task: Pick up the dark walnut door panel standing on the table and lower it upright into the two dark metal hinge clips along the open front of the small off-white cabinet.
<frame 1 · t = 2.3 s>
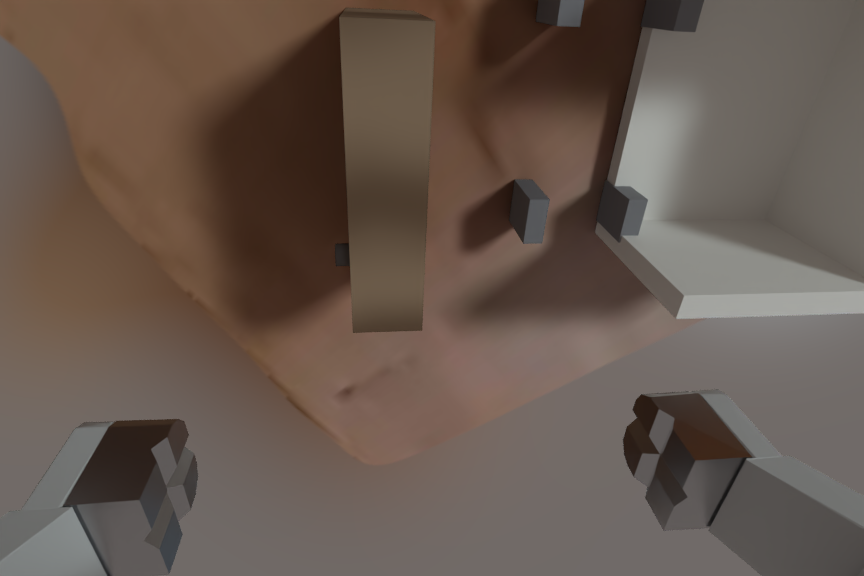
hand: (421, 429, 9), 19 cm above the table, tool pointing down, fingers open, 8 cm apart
cabinet: (721, 111, 27), on the table
door: (381, 143, 26), on the table
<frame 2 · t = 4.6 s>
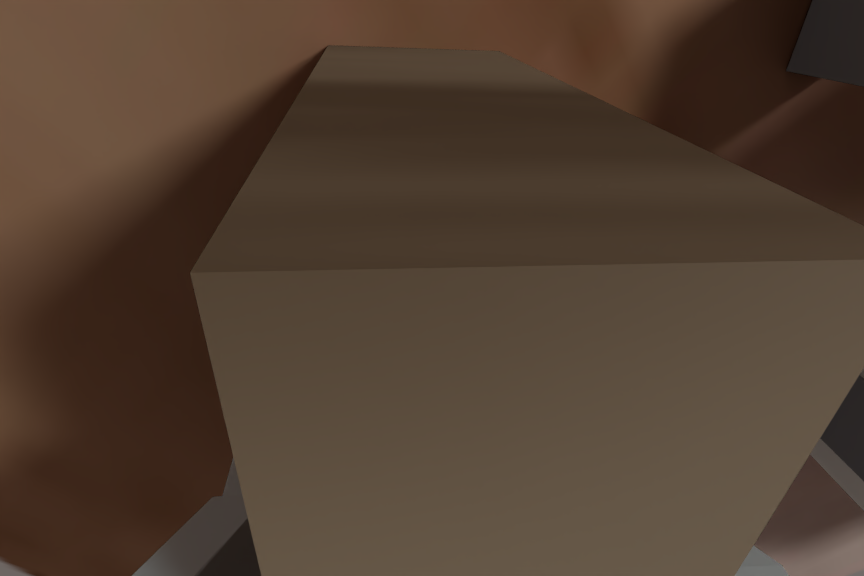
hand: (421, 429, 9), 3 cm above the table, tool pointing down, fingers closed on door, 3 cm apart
door: (409, 328, 12), on the table, touching gripper
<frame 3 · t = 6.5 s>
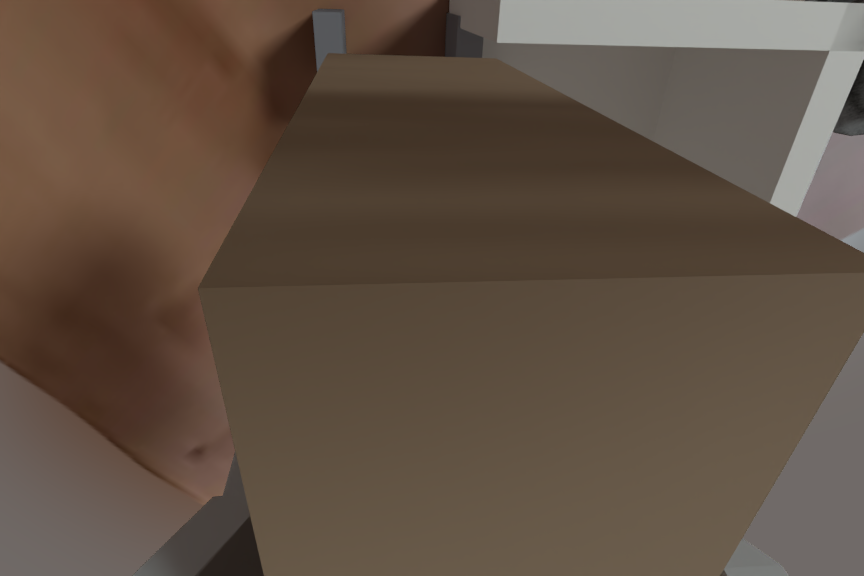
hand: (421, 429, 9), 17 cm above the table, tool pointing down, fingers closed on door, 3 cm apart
chess piece: (814, 52, 24), on the table
cabinet: (553, 160, 25), on the table
door: (408, 331, 12), point 14 cm above the table, touching gripper
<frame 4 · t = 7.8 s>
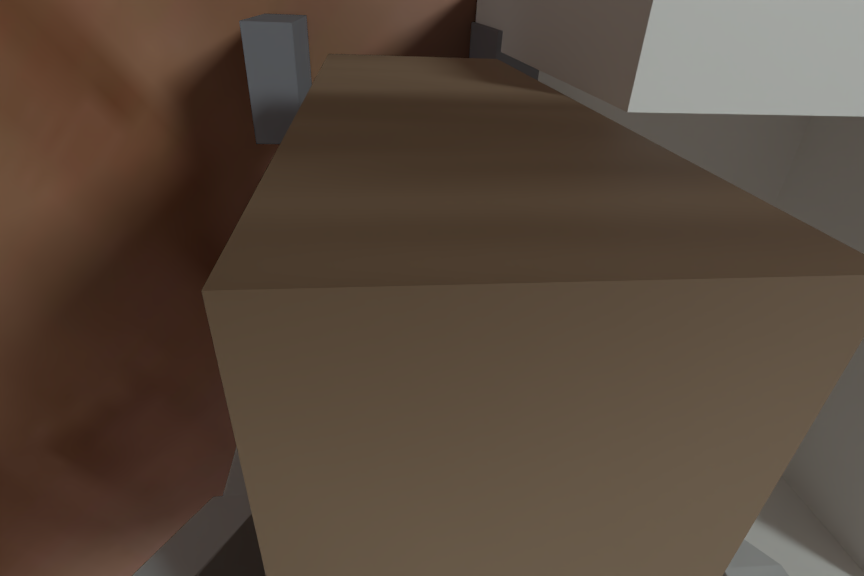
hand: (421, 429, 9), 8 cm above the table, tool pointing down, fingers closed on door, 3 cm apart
cabinet: (620, 236, 17), on the table
door: (408, 331, 12), point 5 cm above the table, touching gripper
when the fingers open (4 cm above the table, at t = 8.8 s): door moves 1 cm, on the table.
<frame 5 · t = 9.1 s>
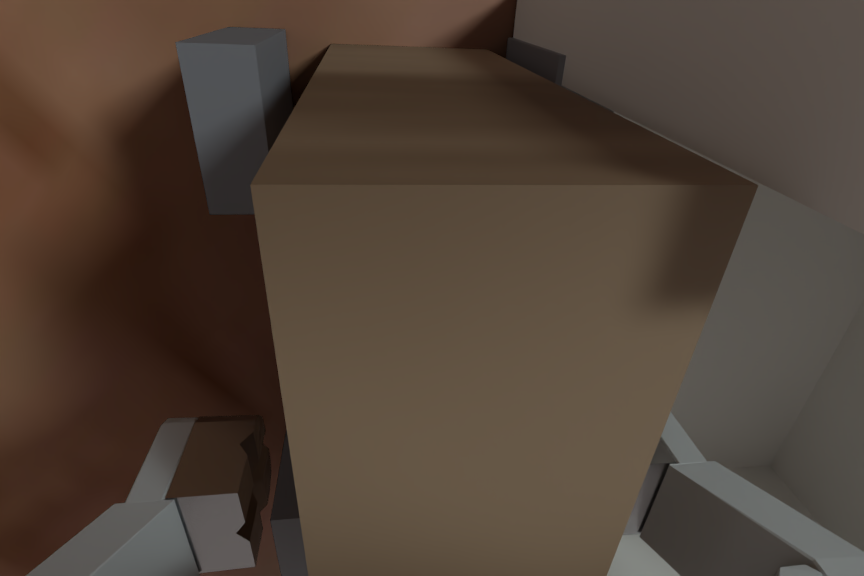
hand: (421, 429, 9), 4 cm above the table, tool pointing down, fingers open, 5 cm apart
cabinet: (682, 300, 14), on the table
door: (405, 306, 13), on the table
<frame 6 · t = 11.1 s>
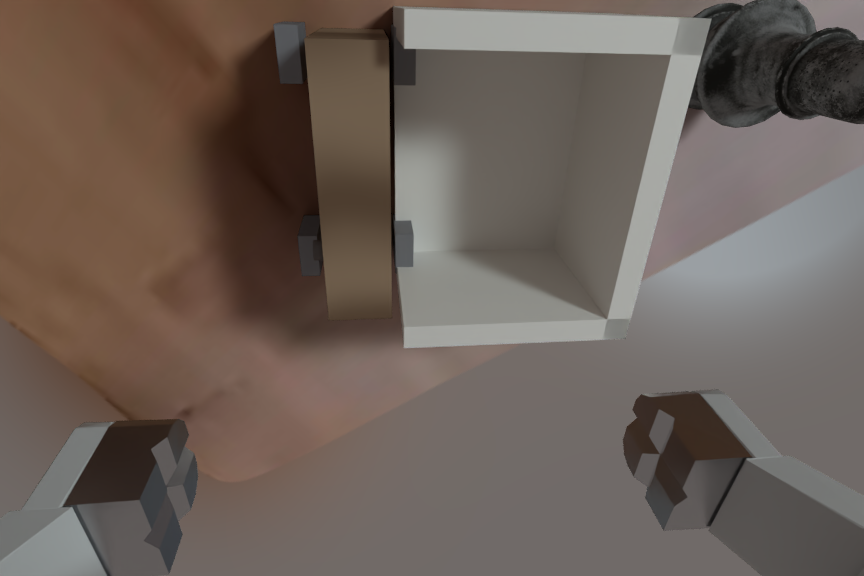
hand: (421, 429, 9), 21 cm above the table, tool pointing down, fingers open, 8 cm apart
chess piece: (711, 58, 28), on the table
cabinet: (490, 150, 29), on the table
door: (358, 149, 28), on the table
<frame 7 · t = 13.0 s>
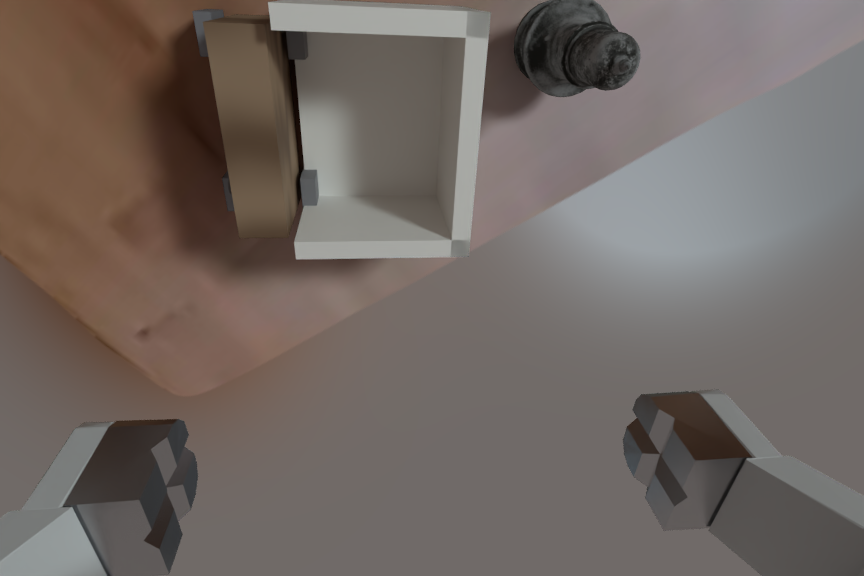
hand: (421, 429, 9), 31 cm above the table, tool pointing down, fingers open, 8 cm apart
chess piece: (550, 43, 35), on the table
cabinet: (379, 114, 36), on the table
door: (272, 112, 35), on the table
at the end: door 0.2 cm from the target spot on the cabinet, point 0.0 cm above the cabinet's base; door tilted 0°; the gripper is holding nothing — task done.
